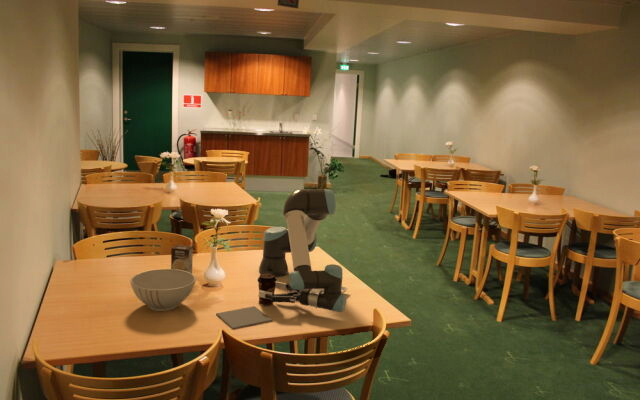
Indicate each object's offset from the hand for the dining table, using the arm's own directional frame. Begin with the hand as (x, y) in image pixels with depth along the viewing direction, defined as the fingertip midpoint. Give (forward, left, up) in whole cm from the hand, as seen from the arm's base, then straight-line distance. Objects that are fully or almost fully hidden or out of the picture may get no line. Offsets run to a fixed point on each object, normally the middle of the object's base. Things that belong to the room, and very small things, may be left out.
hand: (266, 288), depth 249 cm
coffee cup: (-1, 0, -7) cm, 7 cm away
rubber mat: (+15, +10, -7) cm, 20 cm away
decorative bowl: (+40, -17, -7) cm, 45 cm away
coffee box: (+21, -46, -7) cm, 51 cm away
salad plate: (-28, +2, -8) cm, 29 cm away
